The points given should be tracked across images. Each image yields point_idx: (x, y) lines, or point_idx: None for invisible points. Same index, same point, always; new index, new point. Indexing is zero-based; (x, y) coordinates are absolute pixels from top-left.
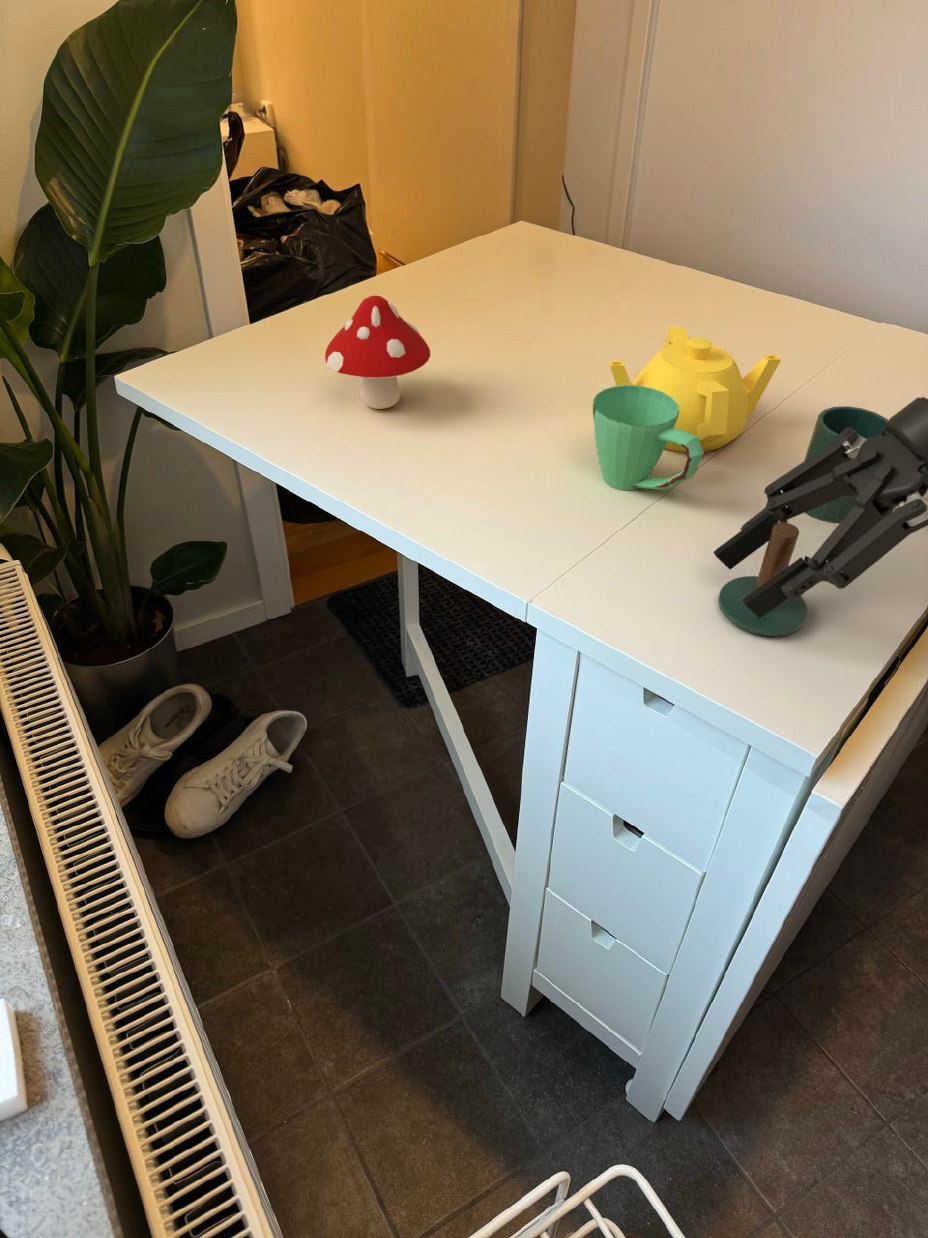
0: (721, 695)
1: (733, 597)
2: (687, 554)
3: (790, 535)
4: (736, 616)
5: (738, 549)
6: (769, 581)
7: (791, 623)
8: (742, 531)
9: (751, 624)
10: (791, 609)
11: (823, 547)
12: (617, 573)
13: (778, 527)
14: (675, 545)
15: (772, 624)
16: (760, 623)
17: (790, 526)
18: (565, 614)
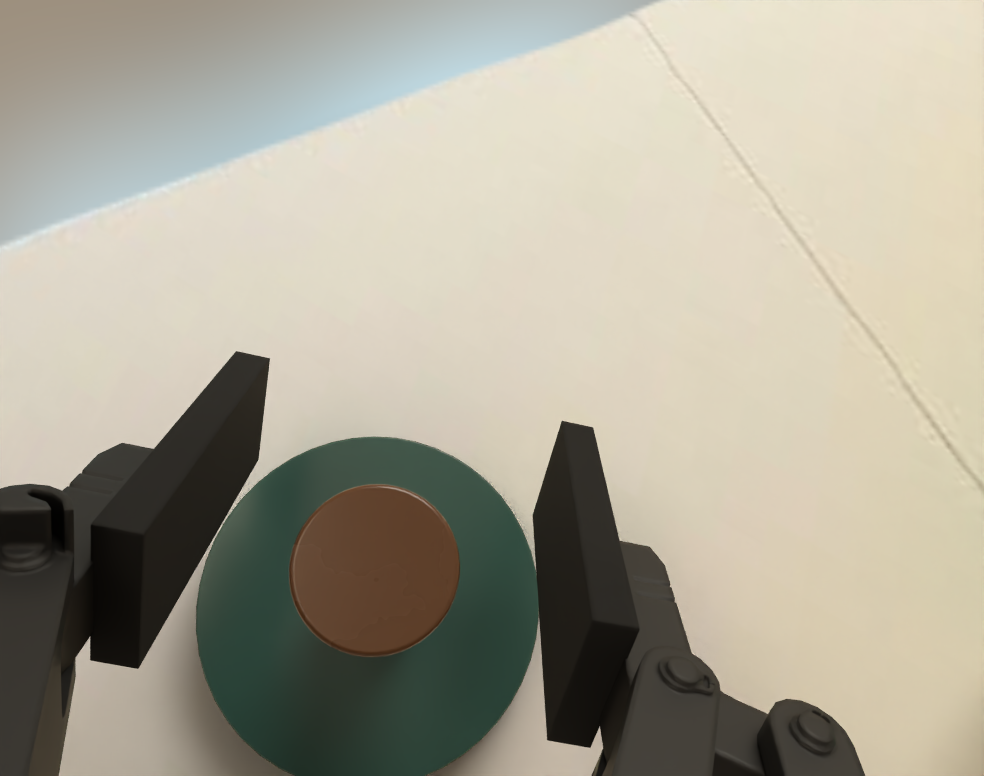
0: (81, 250)
1: (438, 505)
2: (739, 526)
3: (306, 551)
4: (341, 454)
5: (553, 509)
6: (215, 418)
7: (223, 636)
8: (602, 512)
9: (283, 482)
10: (295, 691)
11: (22, 634)
12: (692, 263)
13: (413, 532)
14: (795, 513)
15: (249, 557)
16: (273, 517)
17: (393, 615)
18: (557, 59)
